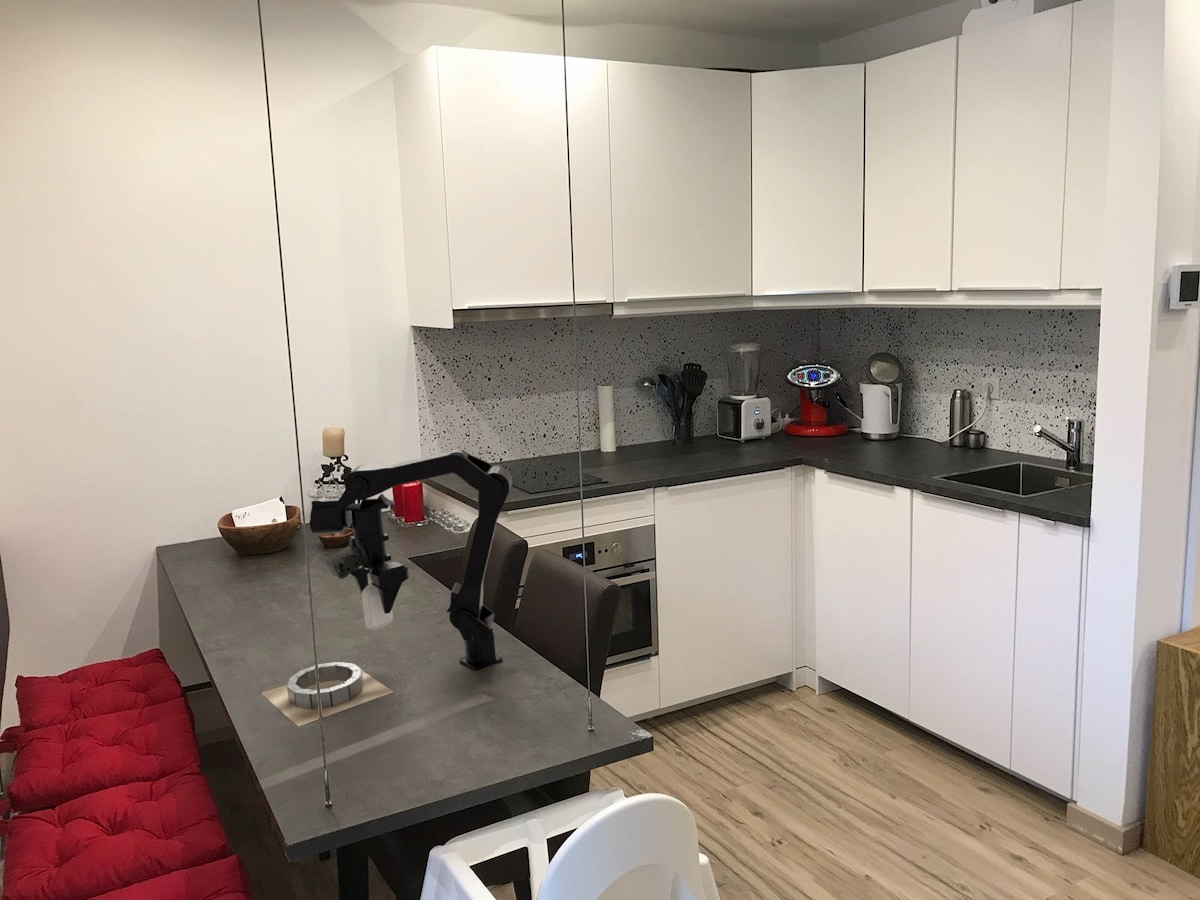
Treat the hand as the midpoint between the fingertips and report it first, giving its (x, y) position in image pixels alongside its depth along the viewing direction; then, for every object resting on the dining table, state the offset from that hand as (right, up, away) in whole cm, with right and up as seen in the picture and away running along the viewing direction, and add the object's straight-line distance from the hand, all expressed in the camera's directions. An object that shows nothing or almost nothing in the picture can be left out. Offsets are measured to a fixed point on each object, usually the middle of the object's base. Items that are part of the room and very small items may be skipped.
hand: (377, 607), depth 184 cm
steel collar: (-7, -14, -10) cm, 19 cm away
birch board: (-7, -15, -10) cm, 19 cm away
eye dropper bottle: (0, -4, +1) cm, 4 cm away
